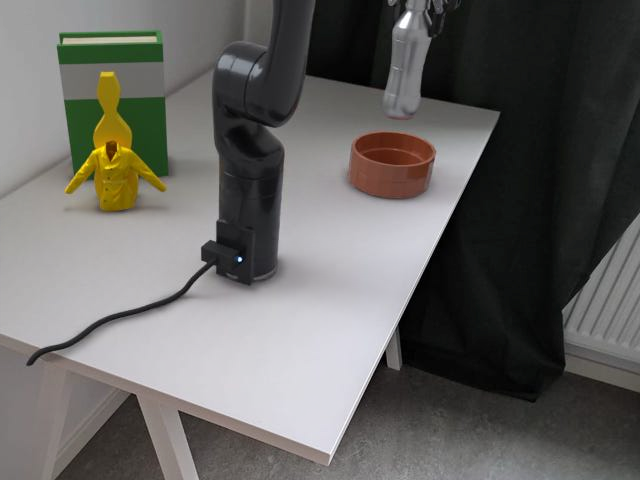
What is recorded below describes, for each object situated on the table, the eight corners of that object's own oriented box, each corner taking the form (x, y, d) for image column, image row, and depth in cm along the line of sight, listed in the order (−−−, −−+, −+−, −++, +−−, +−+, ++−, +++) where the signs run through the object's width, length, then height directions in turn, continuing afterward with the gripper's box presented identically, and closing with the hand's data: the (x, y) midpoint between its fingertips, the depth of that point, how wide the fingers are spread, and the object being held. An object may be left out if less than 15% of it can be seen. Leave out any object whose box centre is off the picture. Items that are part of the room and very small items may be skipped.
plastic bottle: (417, 126, 125) (441, 2, 112) (377, 122, 126) (397, -1, 113) (417, 112, 130) (441, -9, 117) (379, 109, 131) (398, -12, 118)
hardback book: (74, 179, 135) (56, 46, 120) (76, 161, 141) (59, 32, 125) (168, 175, 137) (162, 43, 121) (166, 158, 142) (160, 30, 127)
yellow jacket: (65, 214, 125) (46, 87, 111) (70, 193, 131) (52, 70, 117) (168, 212, 126) (162, 86, 112) (168, 191, 132) (162, 68, 118)
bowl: (424, 205, 129) (432, 171, 125) (341, 192, 132) (345, 159, 128) (432, 169, 140) (439, 137, 136) (354, 158, 143) (359, 126, 139)
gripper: (378, -86, 109) (363, 30, 119) (472, -75, 103) (447, 46, 114) (397, -93, 113) (381, 20, 124) (488, -83, 108) (462, 35, 118)
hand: (412, 32), depth 119 cm, fingers closed on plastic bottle, 6 cm apart
